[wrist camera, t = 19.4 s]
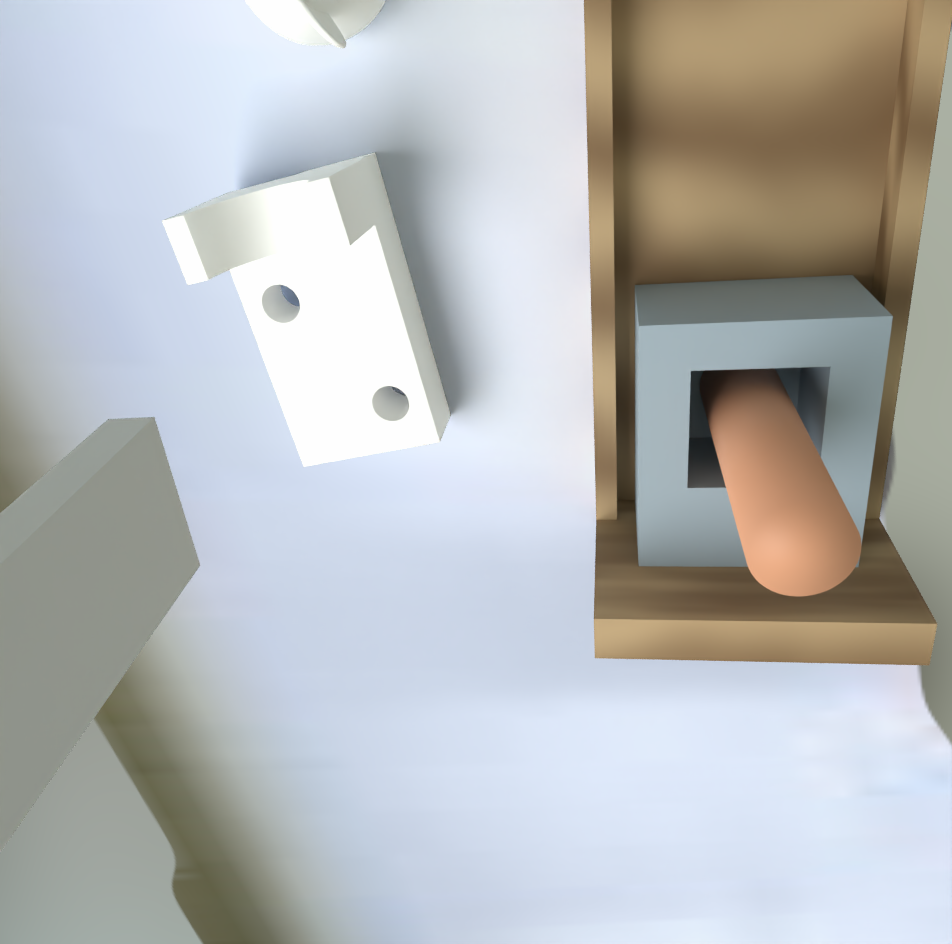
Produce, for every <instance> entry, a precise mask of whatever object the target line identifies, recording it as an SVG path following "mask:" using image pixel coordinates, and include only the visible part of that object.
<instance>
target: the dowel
mask: <svg viewBox="0 0 952 944" xmlns="http://www.w3.org/2000/svg"><path fill="white" fill-rule="evenodd" d="M700 395H701V398H702V402H703V406H704V409H705V413H706V417H707V420H708V424H709V428H710V431H711V435H712V438H713V442H714V446H715V449H716V453H717V457H718V460H719V464H720V468H721V471H722V475H723V478H724V482H725V486H726V489H727V493H728V497H729V500H730V504H731V507H732V511H733V515H734V518H735V522H736V526H737V529H738V533H739V537H740V540H741V544H742V547H743V551H744V555H745V558H746V562H747V565H748V568H749V570H750V572H751V574H752V575H753V576H754V578H755V579H756V580H757V581H758V582H759V583H760V584H761V585H763V586H764V587H766V588H767V589H769V590H771V591H773V592H776V593H779V594H782V595H787V596H810V595H815V594H819V593H822V592H825V591H827V590H829V589H831V588H833V587H835V586H837V585H838V584H840V583H841V582H842V581H844V580H845V579H846V578H847V577H848V576H849V575H850V574H851V572H852V571H853V570H854V568H855V566H856V565H857V563H858V560H859V558H860V554H861V537H860V534H859V531H858V529H857V527H856V525H855V523H854V521H853V519H852V517H851V515H850V513H849V511H848V509H847V508H846V506H845V504H844V502H843V500H842V498H841V496H840V494H839V492H838V490H837V488H836V486H835V484H834V482H833V480H832V478H831V476H830V475H829V473H828V471H827V469H826V467H825V465H824V463H823V461H822V459H821V457H820V455H819V453H818V451H817V449H816V447H815V445H814V443H813V441H812V440H811V438H810V436H809V434H808V432H807V430H806V428H805V426H804V424H803V422H802V420H801V418H800V416H799V414H798V412H797V410H796V408H795V407H794V405H793V403H792V401H791V399H790V397H789V395H788V393H787V391H786V389H785V387H784V385H783V383H782V381H781V379H780V377H779V375H778V373H777V372H776V370H775V368H768V369H735V370H704V371H703V373H702V376H701V379H700Z"/></svg>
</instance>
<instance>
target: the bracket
mask: <svg viewBox="0 0 952 944" xmlns="http://www.w3.org/2000/svg"><path fill="white" fill-rule="evenodd" d="M162 222H163V224H164V227H165V229H166V232H167V234H168V237H169V239H170V242H171V244H172V247H173V249H174V252H175V254H176V257H177V259H178V262H179V264H180V267H181V269H182V272H183V274H184V277H185V279H186V282H187V284H188V285H190V284H194V283H198V282H202V281H207V280H209V279H211V278H213V277H215V276H217V275H219V274H221V273H223V272H226V271H228V270H230V272H231V275H232V277H233V280H234V283H235V285H236V288H237V291H238V293H239V296H240V299H241V301H242V304H243V307H244V309H245V312H246V315H247V317H248V320H249V323H250V325H251V328H252V330H253V333H254V336H255V338H256V341H257V344H258V346H259V349H260V352H261V354H262V357H263V360H264V362H265V365H266V368H267V370H268V373H269V376H270V378H271V381H272V384H273V386H274V389H275V392H276V394H277V397H278V399H279V402H280V405H281V407H282V410H283V413H284V415H285V418H286V421H287V423H288V426H289V429H290V431H291V434H292V437H293V439H294V442H295V445H296V447H297V450H298V453H299V455H300V458H301V460H302V463H303V466H304V467H305V466H311V465H316V464H322V463H327V462H333V461H338V460H344V459H349V458H355V457H360V456H366V455H371V454H377V453H382V452H388V451H393V450H399V449H405V448H410V447H416V446H421V445H427V444H432V443H438V442H440V441H441V438H442V436H443V433H444V431H445V428H446V426H447V423H448V421H449V418H450V416H451V414H450V410H449V407H448V403H447V400H446V396H445V393H444V390H443V386H442V383H441V379H440V376H439V372H438V369H437V365H436V362H435V358H434V355H433V351H432V348H431V345H430V341H429V338H428V334H427V331H426V327H425V324H424V320H423V317H422V313H421V310H420V306H419V303H418V299H417V296H416V293H415V289H414V286H413V282H412V279H411V275H410V272H409V268H408V265H407V261H406V258H405V254H404V251H403V248H402V244H401V241H400V237H399V234H398V230H397V227H396V223H395V220H394V216H393V213H392V209H391V206H390V202H389V199H388V196H387V192H386V189H385V185H384V182H383V178H382V175H381V171H380V168H379V164H378V161H377V157H376V154H375V152H374V153H371V154H367V155H363V156H360V157H356V158H352V159H348V160H345V161H341V162H337V163H333V164H330V165H326V166H322V167H318V168H315V169H311V170H307V171H303V172H301V173H299V174H296V175H292V176H288V177H284V178H281V179H277V180H273V181H269V182H266V183H262V184H258V185H254V186H251V187H247V188H243V189H239V190H236V191H232V192H228V193H226V194H223V195H221V196H219V197H216V198H214V199H212V200H209V201H207V202H205V203H202V204H200V205H198V206H196V207H193V208H191V209H189V210H186V211H184V212H182V213H179V214H177V215H175V216H172V217H170V218H168V219H165V220H163V221H162ZM281 285H284V286H287V287H289V288H290V289H291V290H293V291H294V293H295V294H296V295H297V297H298V299H299V303H300V307H298V306H295V305H292V304H291V303H289V302H288V301H287V300H286V299H285V297H284V296H283V294H282V291H281ZM391 386H393V387H396V388H398V389H400V390H401V391H403V392H404V393H405V395H402V394H399V393H397V392H395V391H394V390H393V389H392V388H391Z"/></svg>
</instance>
